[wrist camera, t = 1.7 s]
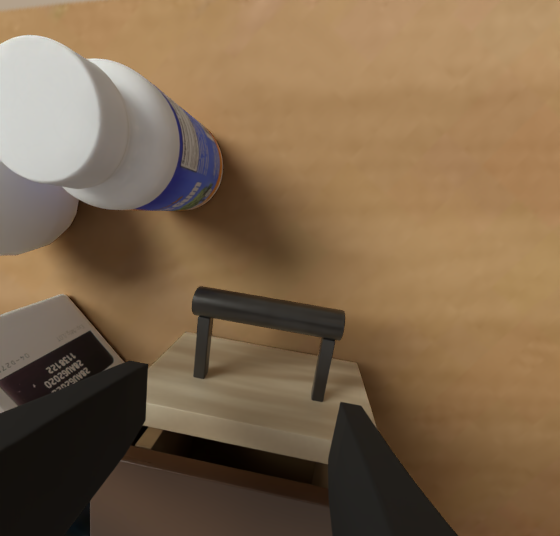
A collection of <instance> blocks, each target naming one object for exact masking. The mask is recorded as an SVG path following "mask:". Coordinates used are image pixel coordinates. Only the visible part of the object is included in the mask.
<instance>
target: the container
mask: <svg viewBox="0 0 560 536" xmlns="http://www.w3.org/2000/svg"><path fill="white" fill-rule="evenodd" d="M122 363H125V362H124V361H123V360H122V359H121V358H120V357H119V355H118V354H117V353H116V352H115V351H114V350H113V348H112V347H111V346H110V345H109V344H108V343H107V341H106V340H105V339H104V338H103V337H102V336H101V334H100V333H99V332H98V331H97V330H96V329H95V327H94V326H93V325H92V324H91V323H90V322H89V320H88V319H87V318H86V317H85V316H84V315H83V313H82V312H81V311H80V310H79V309H78V308H77V306H76V305H75V304H74V303H73V302H72V301H71V299H70V298H69V297H68V296H67V295H65V294H60V295H57V296H54V297H51V298H48V299H45V300H42V301H40V302H37V303H34V304H31V305H28V306H25V307H22V308H19V309H16V310H13V311H10V312H7V313H4V314H1V315H0V413H2V412H5V411H7V410H10V409H12V408H15V407H17V406H20V405H22V404H25V403H27V402H30V401H33V400H35V399H38V398H40V397H43V396H45V395H48V394H50V393H53V392H55V391H57V390H60V389H62V388H65V387H67V386H69V385H72V384H74V383H76V382H79V381H81V380H83V379H86V378H88V377H90V376H93V375H95V374H97V373H100V372H102V371H104V370H107V369H109V368H112V367H114V366H117V365H119V364H122Z"/></svg>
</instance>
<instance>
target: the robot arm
mask: <svg viewBox="0 0 560 536" xmlns="http://www.w3.org/2000/svg"><path fill="white" fill-rule="evenodd" d="M147 379H148V364H144V363H139V362H134V361H128V362H125V363H122V364H119V365H117V366H114V367H112V368H109V369H107V370H104V371H102V372H100V373H97V374H95V375H93V376H90V377H88V378H86V379H83V380H81V381H79V382H76V383H74V384H72V385H69V386H67V387H65V388H62V389H60V390H57V391H55V392H53V393H50V394H48V395H45V396H43V397H40V398H38V399H35V400H33V401H30V402H27V403H25V404H22V405H20V406H17V407H15V408H12V409H10V410H7V411H5V412H2V413H0V536H63V535H64V534H65V533H66V532H67V530H68V529H69V528H70V526H71V525H72V524H73V522H74V521H75V520H76V519H77V517H78V516H79V515H80V513H81V512H82V511H83V509H84V508H85V507H86V505H87V504H88V503H89V502H90V500H91V499H92V498H93V496H94V495H95V494H96V492H97V491H98V490H99V489H100V487H101V486H102V485H103V483H104V482H105V481H106V479H107V478H108V477H109V475H110V474H111V473H112V471H113V470H114V469H115V467H116V466H117V465H118V463H119V462H120V461H121V459H122V458H123V457H124V455H125V454H126V452H127V451H128V449H129V447H130V446H131V444H132V443H133V441H134V439H135V438H136V436H137V434H138V433H139V431H140V429H141V428H142V426H143V424H144V422H145V421H146V401H147ZM328 496H329V508H330V518H331V527H332V536H458V535H457V534H456V533H455V531H454V530H453V529H452V528H451V527H450V525H449V524H448V523H447V522H446V521H445V519H444V518H443V517H442V516H441V515H440V513H439V512H438V511H437V510H436V508H435V507H434V506H433V505H432V503H431V502H430V501H429V500H428V498H427V497H426V496H425V494H424V493H423V492H422V491H421V489H420V488H419V487H418V486H417V484H416V483H415V482H414V480H413V479H412V478H411V476H410V475H409V474H408V472H407V471H406V470H405V468H404V467H403V465H402V464H401V463H400V461H399V460H398V459H397V457H396V456H395V454H394V453H393V451H392V450H391V449H390V447H389V446H388V444H387V443H386V441H385V440H384V438H383V437H382V436H381V434H380V433H379V431H378V430H377V428H376V427H375V425H374V424H373V422H372V421H371V419H370V418H369V416H368V415H367V413H366V412H365V410H364V409H363V407H362V406H361V405H355V404H350V403H345V402H340V406H339V410H338V415H337V420H336V424H335V429H334V434H333V438H332V443H331V447H330V452H329V457H328Z"/></svg>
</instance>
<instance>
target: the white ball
mask: <svg viewBox="0 0 560 536" xmlns="http://www.w3.org/2000/svg"><path fill="white" fill-rule="evenodd" d="M78 201H79V199H77V198H75V197H74V196H72V195H71V194H70V193H68V192H67V191H66V190H65V189H64V188H63V187H61V186H54V185H47V184H41V183H37V182H33V181H31V180H28V179H26V178H24V177H22V176H20V175H18V174H16V173H15V172H13V171H12V170H11V169H9V168H8V167H7V166H6V165H5V164H4V163H3V162H2V161H1V160H0V255H19V254H22V253H25V252H28V251H31V250H34V249H37V248H40V247H43V246H46V245H49V244H51V243H52V242H53V241H54V240H55V239H57V238H58V237H59V236H60V235H61V234H62V233H63V232H64V231H65V230H66V229H67V228H69V227H70V225H71V223H72V221H73V219H74V218H75V216H76V213H77V207H78Z"/></svg>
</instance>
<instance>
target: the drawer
mask: <svg viewBox="0 0 560 536" xmlns="http://www.w3.org/2000/svg"><path fill="white" fill-rule="evenodd" d="M192 312H193V314H194V315H199V317H198V326H197V334H196V333H191V332H185V333H184V334H183V335H182V336H181V337H180V338H179V339H178V340H177V341H176V342H175V343H174V344H173V345H172V346H171V347H170V348H169V349H168V350H167V351H166V352H164V353H163V354H162V355H161V356H160V357H159V358H158V359H157V360H156V361H155V362H154V363H153V364H152V365H151V366H150V367H149V368H148V379H147V401H146V421H145V422H144V424H143V426H148V428H147V430H146V431H145V432H144V434H143V435H142V436H141V438H140V439H139V440H138V442H137V443H136V444H135V446H136V447H140V448H145V449H149V450H154V451H159V452H163V453H168V454H172V455H177V456H182V457H186V458H191V459H196V460H200V461H205V462H209V463H214V464H219V465H223V466H228V467H232V468H237V469H242V470H246V471H251V472H256V473H260V474H265V475H269V476H274V477H279V478H283V479H288V480H292V481H297V482H302V483H306V484H311V485H316V486H320V487H325V488H328V457H329V452H330V447H331V443H332V438H333V434H334V429H335V424H336V420H337V415H338V410H339V406H340V402H345V403H350V404H355V405H361V406H362V407H363V409H364V410H365V412H366V413H367V415H368V416H369V418H370V419H371V421H372V422H373V424H374V425H375V427H376V428H377V426H376V423H375V420H374V417H373V413H372V410H371V407H370V404H369V400H368V397H367V394H366V390H365V387H364V384H363V381H362V377H361V374H360V371H359V368H358V364H357V363H355V362H349V361H344V360H338V359H333V358H332V355H333V350H334V345H335V340H341V338H342V336H343V332H344V326H345V312H344V311H343V310H338V309H332V308H326V307H320V306H314V305H309V304H303V303H297V302H291V301H285V300H279V299H273V298H268V297H262V296H256V295H250V294H244V293H238V292H232V291H227V290H221V289H215V288H209V287H203V286H200V287H198V288H197V290H196V291H195V294H194V297H193V301H192ZM213 318H215V319H221V320H227V321H232V322H238V323H243V324H249V325H255V326H260V327H266V328H271V329H277V330H283V331H288V332H294V333H299V334H305V335H311V336H316V337H322V338H321V343H320V348H319V354H318V356H316V355H311V354H305V353H300V352H295V351H289V350H284V349H278V348H273V347H267V346H262V345H256V344H251V343H245V342H240V341H235V340H229V339H224V338H218V337H213V336H212V326H213Z"/></svg>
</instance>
